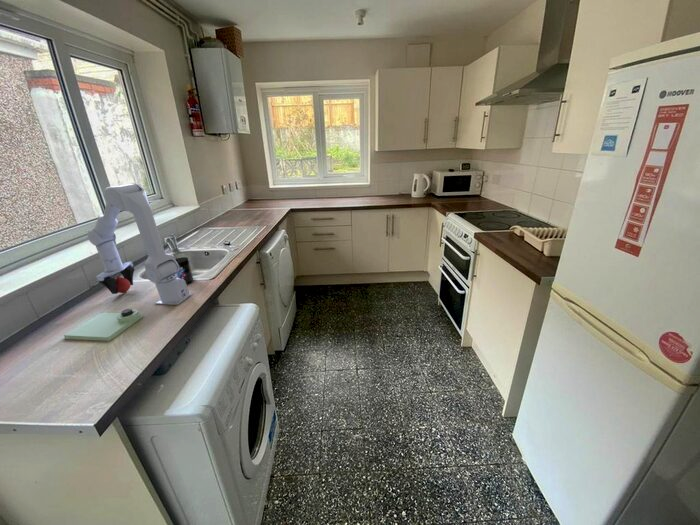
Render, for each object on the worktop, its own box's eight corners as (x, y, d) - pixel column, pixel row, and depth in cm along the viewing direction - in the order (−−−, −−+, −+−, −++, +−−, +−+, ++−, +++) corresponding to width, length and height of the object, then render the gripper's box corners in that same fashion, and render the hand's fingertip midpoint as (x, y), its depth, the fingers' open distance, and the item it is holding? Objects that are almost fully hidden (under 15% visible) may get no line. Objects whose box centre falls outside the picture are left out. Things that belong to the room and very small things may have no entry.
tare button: (135, 312, 99) (133, 308, 98) (127, 317, 96) (126, 313, 95) (127, 312, 99) (125, 308, 98) (120, 317, 96) (118, 313, 96)
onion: (123, 297, 115) (116, 279, 112) (112, 296, 117) (104, 278, 114) (136, 290, 121) (129, 273, 118) (125, 289, 122) (118, 272, 119)
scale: (144, 316, 101) (141, 309, 100) (110, 341, 88) (107, 333, 87) (104, 315, 103) (100, 308, 102) (65, 338, 91) (61, 331, 90)
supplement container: (175, 282, 126) (168, 260, 122) (191, 277, 130) (185, 256, 126) (179, 287, 122) (172, 264, 118) (196, 281, 126) (190, 259, 122)
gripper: (117, 251, 120) (129, 281, 125) (83, 265, 107) (98, 297, 112) (132, 251, 119) (143, 281, 124) (100, 265, 106) (113, 297, 111)
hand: (122, 289), depth 118 cm, fingers open, 7 cm apart
